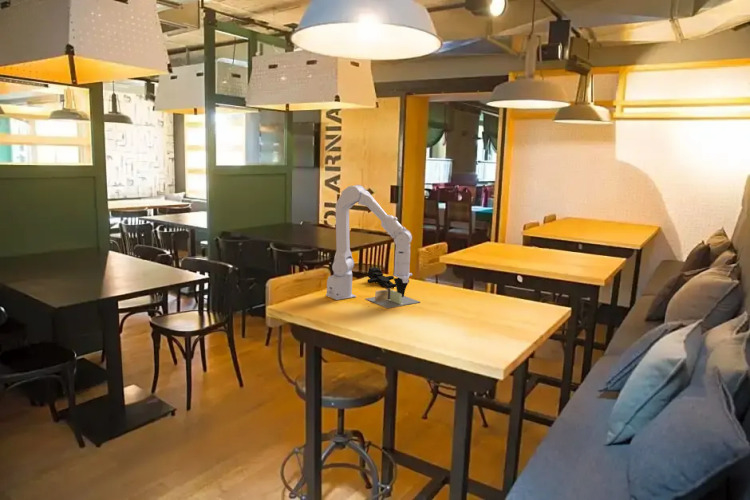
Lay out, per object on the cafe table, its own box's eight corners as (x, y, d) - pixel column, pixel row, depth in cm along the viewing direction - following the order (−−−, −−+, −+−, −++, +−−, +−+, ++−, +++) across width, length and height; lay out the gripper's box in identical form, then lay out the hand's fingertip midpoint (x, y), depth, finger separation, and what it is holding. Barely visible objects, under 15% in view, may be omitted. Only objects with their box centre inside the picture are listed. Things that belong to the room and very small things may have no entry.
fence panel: (388, 299, 211) (389, 289, 210) (391, 299, 211) (391, 289, 210) (399, 303, 205) (399, 294, 204) (401, 303, 205) (401, 293, 205)
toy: (381, 284, 225) (360, 269, 235) (378, 296, 227) (357, 280, 237) (405, 280, 233) (384, 266, 244) (403, 291, 235) (382, 277, 246)
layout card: (387, 308, 200) (387, 307, 200) (365, 299, 211) (365, 298, 211) (420, 302, 210) (420, 301, 210) (397, 294, 221) (397, 293, 221)
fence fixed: (376, 302, 208) (377, 290, 207) (374, 301, 209) (375, 289, 208) (390, 299, 212) (391, 288, 211) (388, 299, 213) (389, 287, 212)
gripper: (417, 266, 200) (415, 302, 202) (408, 258, 214) (406, 291, 216) (398, 266, 198) (396, 302, 201) (390, 258, 212) (389, 291, 215)
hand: (400, 296), depth 208 cm, fingers closed, pressing on fence panel
